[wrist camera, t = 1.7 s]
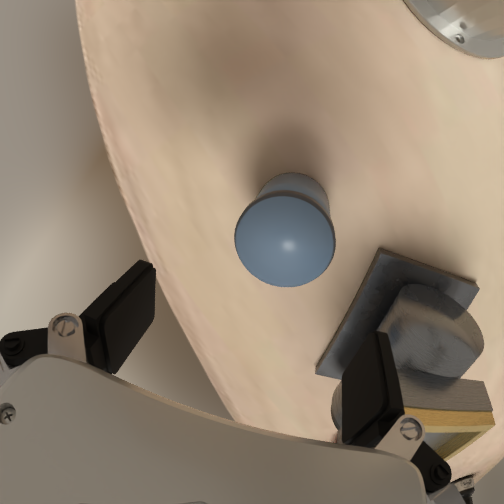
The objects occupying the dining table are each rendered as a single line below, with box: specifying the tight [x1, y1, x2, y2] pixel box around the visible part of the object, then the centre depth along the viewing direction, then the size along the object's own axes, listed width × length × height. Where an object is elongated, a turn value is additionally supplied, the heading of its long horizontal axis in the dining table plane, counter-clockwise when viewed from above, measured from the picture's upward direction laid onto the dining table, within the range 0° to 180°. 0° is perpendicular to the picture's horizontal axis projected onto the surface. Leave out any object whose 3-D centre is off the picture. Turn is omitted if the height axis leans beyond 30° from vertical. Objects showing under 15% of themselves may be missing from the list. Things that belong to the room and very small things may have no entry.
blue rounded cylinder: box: [234, 173, 336, 287], centre depth 20 cm, size 6×6×7 cm
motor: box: [315, 248, 495, 461], centre depth 20 cm, size 16×12×14 cm
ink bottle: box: [451, 476, 474, 504], centre depth 42 cm, size 10×9×12 cm
